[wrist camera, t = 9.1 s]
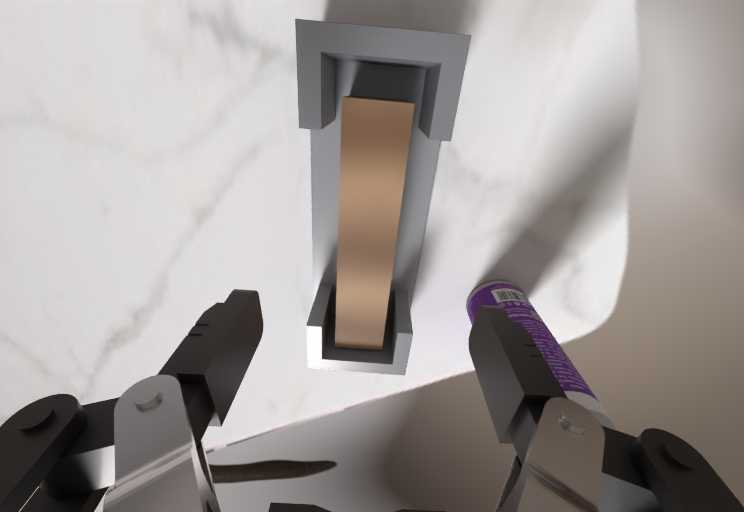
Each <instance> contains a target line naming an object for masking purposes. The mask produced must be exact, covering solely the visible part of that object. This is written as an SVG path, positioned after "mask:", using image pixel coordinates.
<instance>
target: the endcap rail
mask: <svg viewBox="0 0 744 512" xmlns="http://www.w3.org/2000/svg"><path fill="white" fill-rule="evenodd" d="M295 24H296V52H297V80H298V107H299V128H304V129H310V132H311V184H312V236H313V288H314V303H313V306H312V309H311V313H310V316H309V319H308V322H307V325H306V329H307V357H308V368H315V369H328V370H342V371H355V372H368V373H381V374H394V375H405V372H406V367H407V362H408V357H409V352H410V347H411V341H412V336H413V331H412V323H411V315H410V307H411V302H412V296H413V291H414V285H415V280H416V274H417V269H418V263H419V257H420V252H421V246H422V241H423V235H424V230H425V224H426V218H427V213H428V207H429V202H430V196H431V191H432V185H433V179H434V174H435V168H436V163H437V157H438V152H439V146H440V141H451V137H452V132H453V126H454V121H455V116H456V111H457V106H458V101H459V96H460V91H461V85H462V80H463V75H464V70H465V65H466V60H467V55H468V50H469V45H470V39H471V35H462V34H451V33H441V32H430V31H419V30H409V29H398V28H387V27H377V26H366V25H356V24H345V23H334V22H324V21H313V20H302V19H295ZM348 95H353V96H364V97H375V98H386V99H397V100H408V101H410V102H412V103H414V104H415V105H414V113H413V120H412V128H411V135H410V143H409V150H408V158H407V165H406V173H405V180H404V188H403V195H402V203H401V210H400V218H399V225H398V233H397V240H396V248H395V255H394V263H393V270H392V278H391V285H390V293H389V300H388V308H387V315H386V322H385V330H384V337H383V345H382V350H373V349H360V348H347V347H335V326H336V290H337V253H338V217H339V181H340V145H341V108H342V97H344V96H348Z"/></svg>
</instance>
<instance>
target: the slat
mask: <svg viewBox="0 0 744 512" xmlns="http://www.w3.org/2000/svg"><path fill="white" fill-rule="evenodd" d="M414 105H415V104H414V103H412V102H410V101H408V100H397V99H386V98H375V97H364V96H353V95H348V96H344V97H342V108H341V145H340V181H339V217H338V253H337V290H336V326H335V347H347V348H360V349H373V350H382V345H383V337H384V330H385V322H386V315H387V308H388V300H389V293H390V285H391V278H392V270H393V263H394V255H395V248H396V240H397V233H398V225H399V218H400V210H401V203H402V195H403V188H404V180H405V173H406V165H407V158H408V150H409V143H410V135H411V128H412V120H413V113H414Z"/></svg>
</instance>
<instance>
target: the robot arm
mask: <svg viewBox="0 0 744 512" xmlns="http://www.w3.org/2000/svg"><path fill="white" fill-rule="evenodd" d="M262 333H263V318H262V312H261V306H260V300H259V294H258V292H257V291H254V290H238V289H235V290H233V291H232V292H231V294H230V295H229V297H228V298H227V300H226V301H225V302H224V303H216V304H215V305H213V306H212V307H211V308H209V309H208V310H206V311H205V312H204V313H203V314H202V316H201V317H200V318H199V320H198V321H197V322H196V324H195V326H193V328H192V329H191V330H190V332H189V333H188V336H186V337H185V338H184V340H183V341H182V342H181V344H180V345H179V346H178V348H177V349H176V350H175V352H174V353H173V354H172V356H171V357H170V358H169V360H168V361H167V362H166V364H165V365H164V366H163V368H162V369H161V370H160V372H159V373H158V374H157V375H156V376H151V377H148V378H146V379H143V380H141V381H139V382H138V383H136V384H134V385H133V386H131V387H130V388H129V389H128V390H126V391H125V392H124V393H123V394H122V396H121V397H119V398H115V399H110V400H105V401H101V402H96V403H91V404H87V405H82V406H81V405H80V403H79V402H78V400H77V399H76V398H75V397H74V396H72V395H69V394H57V395H51V396H48V397H45V398H42V399H39V400H37V401H35V402H33V403H31V404H29V405H27V406H25V407H24V408H22V409H21V410H19V411H18V412H16V413H15V414H14V415H12V416H11V417H10V418H9V419H8V420H7V421H6V422H5V423H4V424H3V425H2V426H1V427H0V512H19V510H20V509H21V508H22V507H23V505H24V504H25V503H26V501H27V500H28V499H29V498H30V496H31V495H32V494H33V492H34V491H35V490H36V489H37V487H38V486H39V488H38V489H37V490H36V492H35V493H34V494H33V496H32V497H31V498H30V499H29V501H28V502H27V503H26V505H25V506H24V507H23V508H22V510H21V511H20V512H94V511H95V509H96V507H97V506H98V504H99V502H100V501H101V499H102V497H103V496H104V494H105V492H106V491H107V489H108V488H109V486H111V485H114V484H115V485H114V488H113V489H111V490H109V491H107V493H106V495H105V498H104V504H103V512H221V511H220V508H219V504H218V501H217V497H216V493H215V489H214V485H213V481H212V477H211V473H210V469H209V464H208V460H207V456H206V452H205V448H204V444H203V440H202V437H203V435H204V433H205V431H206V429H207V427H208V426H222V424H223V422H224V420H225V417H226V415H227V413H228V411H229V409H230V406H231V404H232V402H233V400H234V398H235V395H236V393H237V391H238V389H239V386H240V384H241V382H242V380H243V378H244V375H245V373H246V371H247V369H248V367H249V364H250V362H251V360H252V358H253V355H254V353H255V351H256V349H257V347H258V344H259V342H260V340H261V337H262ZM469 351H470V355H471V358H472V361H473V364H474V367H475V370H476V373H477V376H478V379H479V382H480V385H481V388H482V391H483V394H484V397H485V400H486V403H487V406H488V409H489V412H490V415H491V418H492V421H493V424H494V427H495V430H496V433H497V436H498V439H499V442H500V443H508V444H514V447H515V450H516V452H517V454H516V455H515V457H514V460H513V462H512V466H511V468H510V471H509V474H508V477H507V480H506V482H505V485H504V488H503V491H502V494H501V497H500V499H499V502H498V505H497V508H496V511H495V512H744V507H743V506H742V504H741V503H740V502H739V501H738V499H737V498H736V497H735V496H734V494H733V493H732V492H731V491H730V489H729V488H728V487H727V486H726V484H725V483H724V482H723V481H722V479H721V478H720V477H719V476H718V475H717V473H716V472H715V471H714V470H713V468H712V467H711V466H710V465H709V463H708V462H707V461H706V460H705V459H704V458H703V456H702V455H701V454H700V453H699V452H698V451H697V450H696V449H694V448H693V447H692V446H691V445H689V444H688V443H687V442H685V441H684V440H682V439H681V438H679V437H677V436H675V435H673V434H671V433H669V432H666V431H664V430H660V429H655V428H654V429H653V428H651V429H646V430H644V431H643V432H642V433H641V434H640V435H639V437H638V438H636V437H634V436H631V435H628V434H625V433H622V432H619V431H616V430H613V429H610V428H608V427H605V426H602V425H601V424H600V423H599V421H598V420H597V419H596V417H595V416H594V415H593V414H592V413H591V412H590V411H588V410H587V409H586V408H585V407H583V406H582V405H580V404H578V403H577V402H575V401H572V400H570V399H568V397H567V395H566V394H565V392H564V390H563V389H562V387H561V385H560V384H559V382H558V380H557V379H556V377H555V375H554V373H553V372H552V370H551V368H550V367H549V365H548V363H547V362H546V360H545V358H543V355H542V353H541V352H540V350H539V348H537V345H536V343H535V341H534V340H533V338H532V336H531V335H530V333H529V332H528V331H527V330H526V329H525V328H524V327H523V326H521V325H520V324H519V323H518V322H513V321H511V320H510V318H509V316H508V314H507V313H506V311H505V309H504V308H503V307H501V306H486V305H480V306H479V308H478V310H477V313H476V316H475V319H474V323H473V326H472V329H471V332H470V336H469ZM269 512H331V511H328V510H326V509H323V508H321V507H318V506H316V505H308V504H289V503H271V504H270V508H269ZM396 512H443V511H426V510H406V509H402V510H399V511H396ZM444 512H445V511H444Z"/></svg>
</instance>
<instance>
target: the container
mask: <svg viewBox="0 0 744 512" xmlns="http://www.w3.org/2000/svg"><path fill="white" fill-rule="evenodd" d="M480 305H486V306H501V307H503V308H504V309H505V311H506V313H507V314H508V316H509V318H510V320H511V321H513V322H518V323H519V324H520V325H521V326H523V327H524V328H525V329H526V330H527V331H528V332H529V333H530V335H531V336H532V338H533V340H534V341H535V343H536V345H537V348H539V350H540V352H541V353H542V355H543V358H545V360H546V362H547V363H548V365H549V367H550V368H551V370H552V372H553V373H554V375H555V377H556V379H557V380H558V382H559V384H560V385H561V387H562V389H563V390H564V392H565V394H566V395H567V397H568V399H570V400H572V401H575V402H577V403H578V404H580V405H582V406H583V407H585V408H586V409H587V410H588V411H590V412H591V413H592V414H593V415H594V416H595V417H596V419H597V420H598V421H599V423H600V424H601V425H602V426H605V427H608V428H610V429H613V430H616V431H617V429H616V428H615V426H614V424H613V423H612V421H611V420H610V418H609V417H608V415H607V414H606V412H605V411H604V409H603V408H602V406H601V405H600V403H599V401H598V400H597V399H596V397H595V396H594V394H593V393H592V391H591V390H590V389H589V387H588V385H587V384H586V383H585V381H584V380H583V378H582V377H581V375H580V374H579V373H578V371H577V370H576V368H575V367H574V365H573V364H572V363H571V361H570V360H569V358H568V357H567V355H566V354H565V352H564V351H563V349H562V348H561V347H560V345H559V344H558V342H557V341H556V339H555V338H554V337H553V335H552V334H551V332H550V331H549V329H548V328H547V326H546V325H545V324H544V322H543V321H542V319H541V318H540V316H539V315H538V314H537V312H536V311H535V309H534V308H533V306H532V305H531V303H530V302H529V301H528V299H527V298H526V296H525V295H524V293H523V292H522V291H521V289H520V288H519V287H518V286H517V285H516V284H514V283H512V282H509V281H505V280H494V281H489V282H486V283H484V284H482V285H480V286H478V287H477V288H476V289H474V290H473V291H472V293H471V294H470V295H469V297H468V299H467V303H466V309H467V313H468V316H469V318H470V321H471V323H472V326H473V323H474V319H475V316H476V313H477V310H478V308H479V306H480Z"/></svg>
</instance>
